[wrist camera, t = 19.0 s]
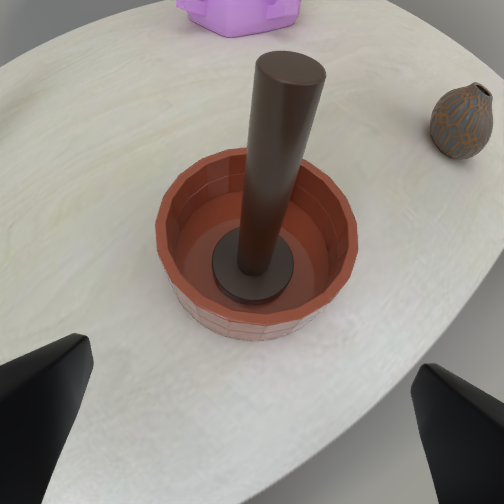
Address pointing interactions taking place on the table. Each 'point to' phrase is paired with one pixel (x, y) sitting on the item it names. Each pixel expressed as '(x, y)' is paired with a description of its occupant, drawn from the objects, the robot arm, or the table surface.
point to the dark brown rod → (269, 177)
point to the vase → (463, 121)
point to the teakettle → (241, 15)
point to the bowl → (228, 218)
